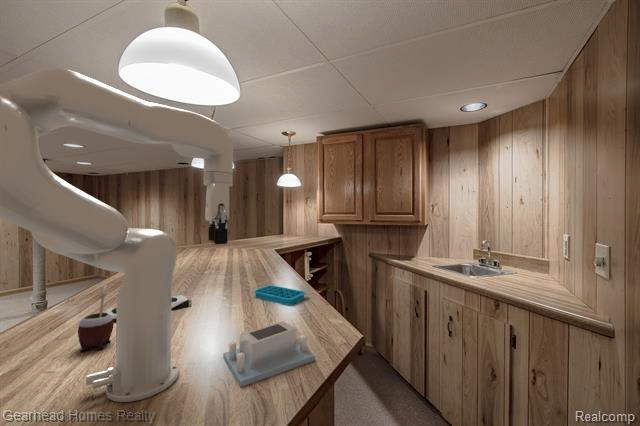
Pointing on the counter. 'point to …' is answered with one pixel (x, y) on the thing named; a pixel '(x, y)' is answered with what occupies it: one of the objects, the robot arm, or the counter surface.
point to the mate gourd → (95, 329)
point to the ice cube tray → (279, 294)
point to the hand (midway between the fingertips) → (217, 242)
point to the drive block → (267, 343)
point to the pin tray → (287, 362)
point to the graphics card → (177, 303)
